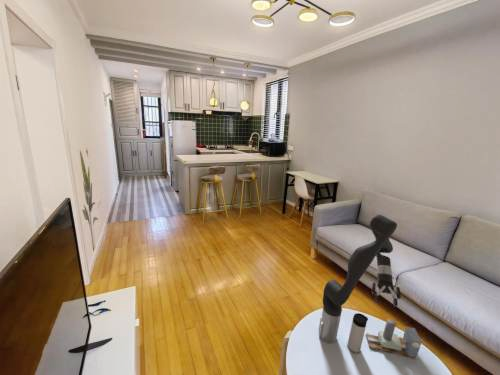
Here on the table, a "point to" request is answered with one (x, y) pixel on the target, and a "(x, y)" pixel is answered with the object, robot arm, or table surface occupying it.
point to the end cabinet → (411, 341)
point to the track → (375, 344)
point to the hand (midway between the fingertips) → (386, 304)
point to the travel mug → (357, 332)
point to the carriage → (389, 336)
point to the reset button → (402, 341)
